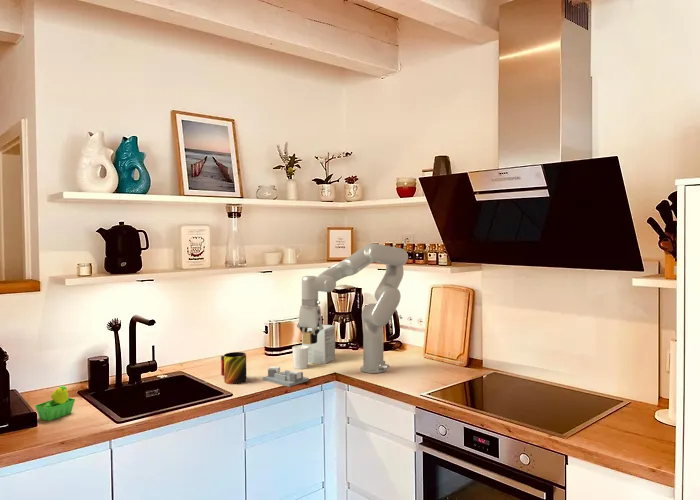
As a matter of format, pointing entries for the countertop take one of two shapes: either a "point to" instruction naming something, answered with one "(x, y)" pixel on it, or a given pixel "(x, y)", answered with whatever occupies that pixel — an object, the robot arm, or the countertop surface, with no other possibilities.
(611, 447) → the countertop surface
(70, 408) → the fruit basket
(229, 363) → the mug
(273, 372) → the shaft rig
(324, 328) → the supplement box
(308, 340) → the coupler
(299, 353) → the white cup
